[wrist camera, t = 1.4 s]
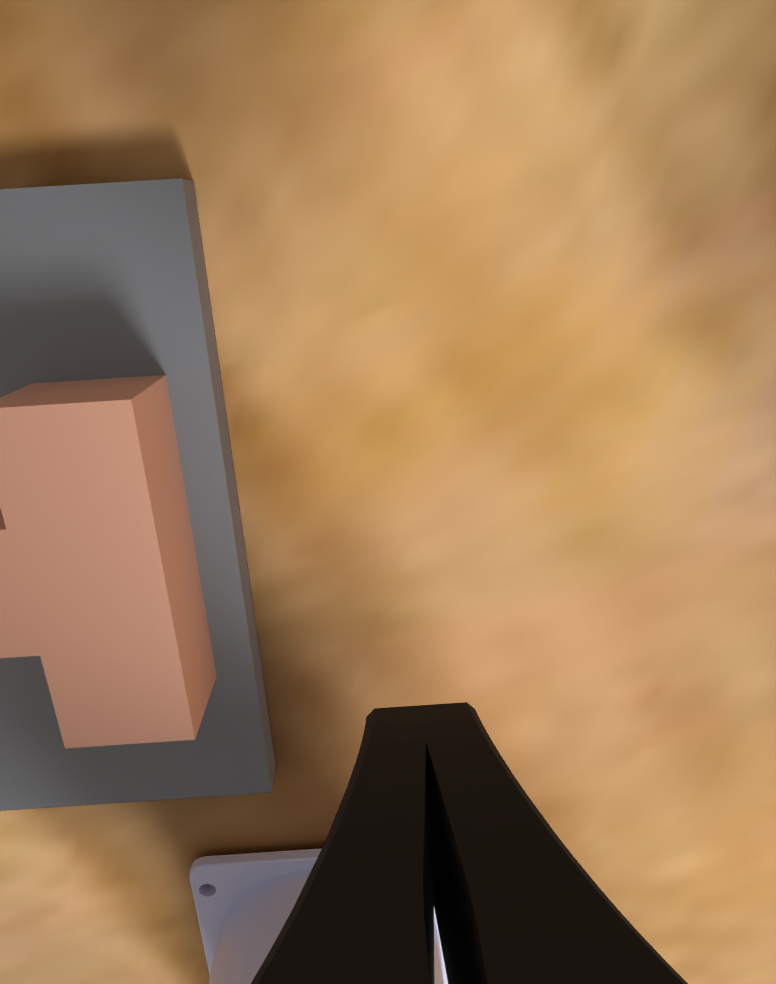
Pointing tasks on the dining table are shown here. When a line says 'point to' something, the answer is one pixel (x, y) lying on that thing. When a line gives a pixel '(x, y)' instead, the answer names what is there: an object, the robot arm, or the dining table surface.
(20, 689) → the board
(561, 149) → the dining table surface
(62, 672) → the t block
